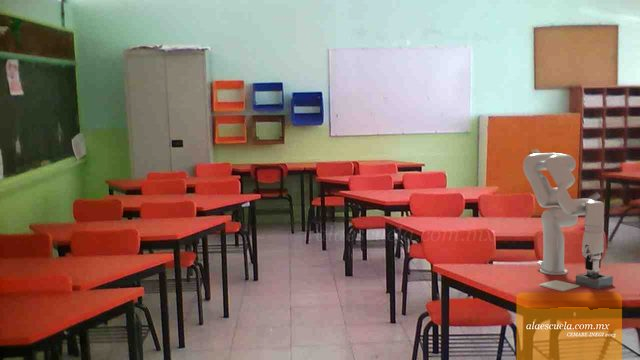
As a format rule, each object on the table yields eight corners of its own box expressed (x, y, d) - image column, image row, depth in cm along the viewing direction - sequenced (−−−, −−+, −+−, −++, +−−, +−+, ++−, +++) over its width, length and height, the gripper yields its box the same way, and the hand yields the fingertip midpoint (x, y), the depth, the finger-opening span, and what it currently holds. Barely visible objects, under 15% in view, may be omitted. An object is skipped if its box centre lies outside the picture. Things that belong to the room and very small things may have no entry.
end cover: (582, 277, 268) (583, 254, 267) (590, 275, 272) (590, 252, 271) (594, 280, 263) (595, 257, 262) (602, 278, 267) (603, 255, 266)
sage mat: (539, 285, 268) (539, 284, 268) (555, 281, 275) (555, 279, 275) (562, 291, 258) (562, 290, 258) (579, 286, 265) (579, 285, 265)
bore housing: (575, 284, 269) (575, 275, 269) (589, 280, 275) (590, 271, 275) (598, 289, 260) (598, 280, 260) (612, 285, 266) (612, 276, 266)
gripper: (597, 225, 273) (596, 264, 275) (574, 229, 264) (573, 270, 266) (612, 227, 267) (611, 267, 269) (590, 232, 257) (589, 273, 259)
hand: (592, 268), depth 267 cm, fingers closed on end cover, 5 cm apart
